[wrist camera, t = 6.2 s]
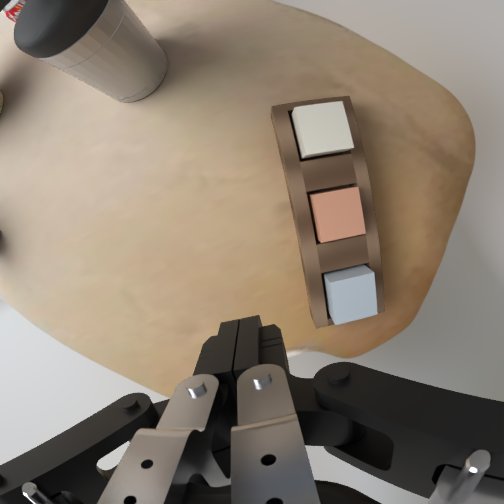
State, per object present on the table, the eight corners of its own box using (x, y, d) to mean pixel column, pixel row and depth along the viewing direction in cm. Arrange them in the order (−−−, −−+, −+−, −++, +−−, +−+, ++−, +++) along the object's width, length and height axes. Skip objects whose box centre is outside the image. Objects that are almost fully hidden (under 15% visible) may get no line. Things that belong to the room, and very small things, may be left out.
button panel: (270, 115, 32) (272, 106, 28) (340, 105, 32) (349, 95, 28) (310, 314, 37) (316, 328, 33) (373, 299, 37) (384, 311, 33)
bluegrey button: (323, 273, 33) (329, 282, 30) (363, 264, 33) (374, 272, 29) (328, 312, 34) (335, 325, 30) (367, 303, 34) (377, 314, 30)
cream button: (291, 115, 29) (294, 107, 26) (334, 109, 29) (342, 101, 26) (301, 158, 30) (306, 155, 27) (344, 151, 30) (354, 147, 27)
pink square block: (307, 194, 32) (312, 194, 29) (348, 186, 32) (358, 186, 29) (315, 237, 33) (321, 242, 30) (355, 229, 33) (365, 233, 30)
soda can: (36, 43, 29) (-5, 22, 18) (42, 15, 28) (6, -8, 16) (66, 27, 29) (26, -1, 17) (72, -1, 28) (37, -30, 16)
